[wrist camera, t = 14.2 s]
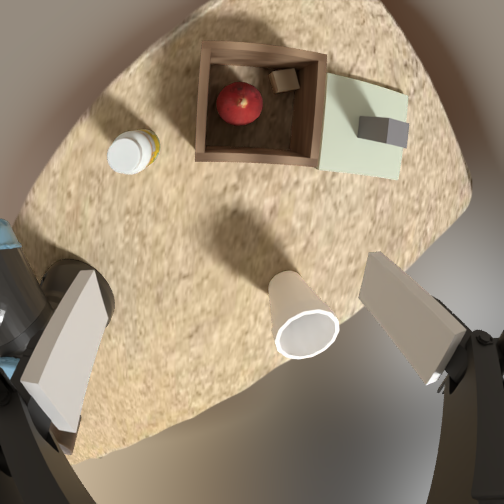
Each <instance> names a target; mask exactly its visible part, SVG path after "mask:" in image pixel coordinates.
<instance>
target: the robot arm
mask: <svg viewBox="0 0 504 504" xmlns="http://www.w3.org/2000/svg"><path fill="white" fill-rule="evenodd" d="M21 247H22V245H21V243H19V242H18V240H17V238H16V236H15V234H14V232H13V230H12V227H11V225H10V224H9V222H8V221H6V220H4V219H0V504H96V502H95V501H94V500H93V498H92V497H91V496H90V494H89V493H88V491H87V490H86V488H85V487H84V485H83V484H82V482H81V481H80V479H79V478H78V476H77V475H76V473H75V472H74V470H73V468H72V467H71V465H70V463H69V462H68V460H67V458H66V457H65V455H64V453H63V451H62V449H61V448H60V446H59V444H58V442H57V440H56V438H55V436H54V434H53V433H52V432H51V430H50V429H49V428H50V424H51V421H52V423H53V424H54V425H55V426H56V427H57V428H58V429H59V430H62V431H68V432H73V433H76V432H77V427H78V422H79V418H80V413H81V409H82V405H83V401H84V397H85V393H86V389H87V385H88V382H89V378H90V374H91V371H92V367H93V364H94V361H95V357H96V354H97V351H98V348H99V345H100V342H101V338H102V335H103V333H104V330H105V328H106V327H107V326H108V324H109V322H110V320H111V318H112V315H113V312H114V308H115V302H114V296H113V293H112V290H111V288H110V286H109V285H108V283H107V281H106V280H105V279H104V278H103V276H102V275H101V274H100V273H99V272H97V271H96V270H95V269H94V268H92V267H91V266H89V265H87V264H85V263H83V262H81V261H77V260H72V259H64V260H60V261H57V262H55V263H54V264H53V265H51V267H50V268H49V269H48V270H47V271H46V272H45V274H44V276H43V278H42V280H41V284H39V283H38V281H37V279H36V277H35V275H34V273H33V271H32V269H31V267H30V265H29V263H28V261H27V259H26V257H25V254H24V252H23V250H22V248H21ZM358 298H359V299H360V300H361V302H362V303H363V304H364V305H365V307H366V308H367V309H368V310H369V312H370V313H371V314H372V315H373V317H374V318H375V319H376V320H377V321H378V323H379V324H380V325H381V327H382V328H383V329H384V330H385V332H386V333H387V334H388V336H389V337H390V338H391V339H392V341H393V342H394V343H395V345H396V346H397V347H398V348H399V350H400V351H401V352H402V354H403V355H404V356H405V358H406V359H407V360H408V362H409V363H410V364H411V366H412V367H413V368H414V370H415V371H416V373H417V374H418V375H419V376H420V378H421V379H422V381H423V382H424V383H425V385H428V384H430V383H432V382H435V381H437V380H438V379H439V378H440V376H441V375H442V373H443V371H444V370H445V371H446V372H447V373H448V375H447V376H446V378H445V379H444V381H443V382H442V384H441V386H440V387H439V389H438V393H439V392H440V391H441V390H442V388H443V387H445V389H444V391H443V393H442V394H444V406H443V417H442V426H441V435H440V442H439V448H438V455H437V460H436V465H435V470H434V475H433V480H432V484H431V488H430V492H429V496H428V500H427V503H426V504H504V379H503V377H502V376H503V375H504V330H503V332H502V334H501V336H500V337H499V338H492V337H491V335H489V334H488V333H487V332H484V331H482V330H475V331H473V332H472V331H471V330H470V329H469V328H468V327H467V326H466V325H465V324H464V323H463V322H462V321H461V320H460V319H459V318H458V317H457V316H456V315H455V314H452V311H450V310H449V309H448V308H447V307H446V306H445V305H444V304H443V303H442V302H441V301H440V300H438V299H436V298H435V297H433V296H431V295H430V294H429V293H428V292H427V291H425V290H424V289H423V288H422V287H421V286H420V285H419V284H418V283H417V282H416V281H414V280H413V279H412V278H411V277H410V276H409V275H408V274H406V273H405V272H404V271H403V270H402V269H401V268H400V267H398V266H397V265H396V264H395V263H394V262H392V261H391V260H390V259H389V258H388V257H387V256H385V255H384V254H383V253H382V252H369V253H368V258H367V263H366V267H365V272H364V276H363V281H362V285H361V289H360V293H359V297H358Z"/></svg>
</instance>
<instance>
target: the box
mask: <svg viewBox="0 0 504 504" xmlns="http://www.w3.org/2000/svg"><path fill="white" fill-rule="evenodd" d="M210 65H236V66H250V67H261V68H271V69H279V70H285V69H292V68H295V72H296V75H297V79H298V82H299V86H300V88H299V89H296V90H295V92H294V105H293V118H292V130H291V141H290V150H283V149H270V148H253V147H228V146H206V127H207V108H208V92H209V77H210ZM326 65H327V55H326V54H321V53H316V52H311V51H306V50H301V49H295V48H289V47H282V46H275V45H267V44H257V43H246V42H231V41H202V48H201V59H200V71H199V85H198V100H197V119H196V144H195V162H247V163H268V164H284V165H297V166H309V167H318V159H319V150H320V140H321V130H322V119H323V108H324V95H325V81H326Z"/></svg>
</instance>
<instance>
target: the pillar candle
mask: <svg viewBox="0 0 504 504" xmlns="http://www.w3.org/2000/svg"><path fill="white" fill-rule="evenodd" d="M80 421H81V415H80V418H79V422H78V427H77V432H76V433H73V432H68V431H62V430H59V429H58V428H57V427H56V426H55V425H54V424H53V423H52V421H51V424H50V428H49V429H50V430H51V432H52V433H53V434H54V436H55V438H56V440H57V442H58V444H59V446H60V448H61V449H62V451H63V453H64V454H67V455H72V453H73V449H74V445H75V441H76V437H77V433H78V429H79V425H80Z"/></svg>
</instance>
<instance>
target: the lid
mask: <svg viewBox="0 0 504 504" xmlns="http://www.w3.org/2000/svg"><path fill="white" fill-rule="evenodd" d="M407 107H408V96H407V95H404V94H401V93H399V92H396V91H393V90H390V89H387V88H383V87H380V86H377V85H374V84H370V83H367V82H363V81H360V80H356V79H352V78H348V77H344V76H340V75H335V74H331V73H326V81H325V95H324V108H323V119H322V130H321V140H320V150H319V159H318V167H316V169H318V170H324V171H333V172H342V173H351V174H358V175H366V176H373V177H380V178H387V179H393V180H398V178H399V173H400V166H401V160H402V153H403V148H407V140H408V131H409V123H406V119H407Z"/></svg>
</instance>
